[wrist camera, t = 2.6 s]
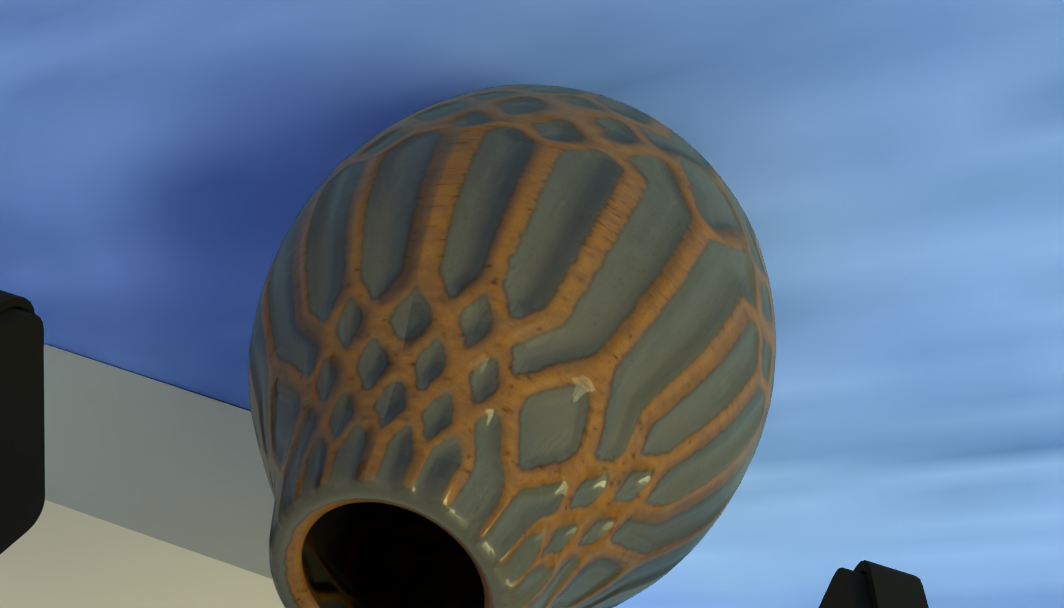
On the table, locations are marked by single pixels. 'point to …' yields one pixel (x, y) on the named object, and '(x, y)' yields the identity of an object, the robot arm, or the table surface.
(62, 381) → the plinth
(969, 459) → the table surface
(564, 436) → the vase
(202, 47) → the table surface
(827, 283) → the table surface
